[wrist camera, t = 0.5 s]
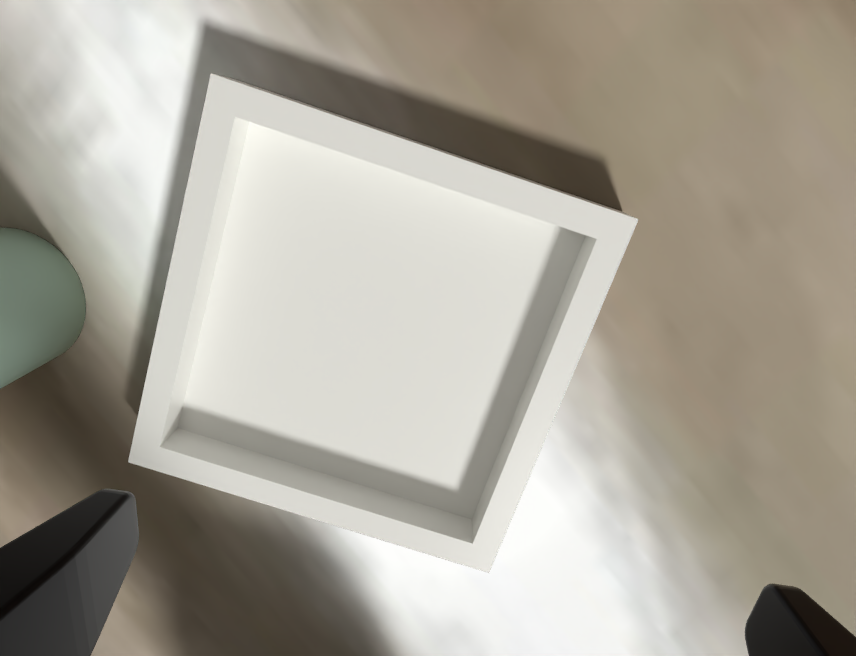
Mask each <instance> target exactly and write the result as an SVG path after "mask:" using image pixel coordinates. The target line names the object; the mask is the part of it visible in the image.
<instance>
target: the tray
mask: <svg viewBox="0 0 856 656" xmlns="http://www.w3.org/2000/svg"><path fill="white" fill-rule="evenodd" d="M637 222H638V219H637V218H635V217H633V216H631V215H629V214H626V213H624V212H622V211H619V210H616V209H613V208H610V207H607V206H604V205H602V204H599V203H596V202H593V201H590V200H587V199H584V198H581V197H578V196H575V195H572V194H569V193H566V192H563V191H561V190H558V189H555V188H552V187H549V186H546V185H543V184H540V183H537V182H534V181H531V180H528V179H525V178H522V177H520V176H517V175H514V174H511V173H508V172H505V171H502V170H499V169H496V168H493V167H490V166H487V165H484V164H481V163H479V162H476V161H473V160H470V159H467V158H464V157H461V156H458V155H455V154H452V153H449V152H446V151H443V150H440V149H438V148H435V147H432V146H429V145H426V144H423V143H420V142H417V141H414V140H411V139H408V138H405V137H402V136H399V135H397V134H394V133H391V132H388V131H385V130H382V129H379V128H376V127H373V126H370V125H367V124H364V123H361V122H358V121H356V120H353V119H350V118H347V117H344V116H341V115H338V114H335V113H332V112H329V111H326V110H323V109H320V108H317V107H315V106H312V105H309V104H306V103H303V102H300V101H297V100H294V99H291V98H288V97H285V96H282V95H279V94H276V93H274V92H271V91H268V90H265V89H262V88H259V87H256V86H253V85H250V84H247V83H244V82H241V81H238V80H235V79H233V78H228V77H224V76H220V75H216V74H212V73H211V75H210V79H209V84H208V89H207V93H206V98H205V103H204V108H203V112H202V117H201V122H200V126H199V131H198V136H197V140H196V145H195V150H194V155H193V159H192V164H191V169H190V173H189V178H188V183H187V187H186V192H185V197H184V201H183V206H182V211H181V216H180V220H179V225H178V230H177V234H176V239H175V244H174V248H173V253H172V258H171V263H170V267H169V272H168V277H167V281H166V286H165V291H164V295H163V300H162V305H161V310H160V314H159V319H158V324H157V328H156V333H155V338H154V342H153V347H152V352H151V357H150V361H149V366H148V371H147V375H146V380H145V385H144V389H143V394H142V399H141V404H140V408H139V413H138V418H137V422H136V427H135V432H134V436H133V441H132V446H131V451H130V455H129V460H128V462H129V463H132V464H136V465H139V466H142V467H145V468H149V469H152V470H155V471H158V472H162V473H165V474H168V475H171V476H175V477H178V478H181V479H184V480H188V481H191V482H194V483H197V484H201V485H204V486H207V487H210V488H214V489H217V490H220V491H223V492H227V493H230V494H233V495H236V496H240V497H243V498H246V499H250V500H253V501H256V502H259V503H263V504H266V505H269V506H272V507H276V508H279V509H282V510H285V511H289V512H292V513H295V514H298V515H302V516H305V517H308V518H311V519H315V520H318V521H321V522H324V523H328V524H331V525H334V526H337V527H341V528H344V529H347V530H351V531H354V532H357V533H360V534H364V535H367V536H370V537H373V538H377V539H380V540H383V541H386V542H390V543H393V544H396V545H399V546H403V547H406V548H409V549H412V550H416V551H419V552H422V553H425V554H429V555H432V556H435V557H438V558H442V559H445V560H448V561H452V562H455V563H458V564H461V565H465V566H468V567H471V568H474V569H478V570H481V571H484V572H487V573H489V572H490V570H491V567H492V565H493V562H494V560H495V558H496V555H497V553H498V551H499V548H500V546H501V543H502V541H503V539H504V536H505V534H506V532H507V529H508V527H509V525H510V522H511V520H512V517H513V515H514V513H515V510H516V508H517V506H518V503H519V501H520V499H521V496H522V494H523V491H524V489H525V487H526V484H527V482H528V480H529V477H530V475H531V472H532V470H533V468H534V465H535V463H536V461H537V458H538V456H539V454H540V451H541V449H542V446H543V444H544V442H545V439H546V437H547V435H548V432H549V430H550V428H551V425H552V423H553V420H554V418H555V416H556V413H557V411H558V409H559V406H560V404H561V401H562V399H563V397H564V394H565V392H566V390H567V387H568V385H569V383H570V380H571V378H572V375H573V373H574V371H575V368H576V366H577V364H578V361H579V359H580V357H581V354H582V352H583V349H584V347H585V345H586V342H587V340H588V338H589V335H590V333H591V330H592V328H593V326H594V323H595V321H596V319H597V316H598V314H599V312H600V309H601V307H602V304H603V302H604V300H605V297H606V295H607V293H608V290H609V288H610V286H611V283H612V281H613V278H614V276H615V274H616V271H617V269H618V267H619V264H620V262H621V260H622V257H623V255H624V252H625V250H626V248H627V245H628V243H629V241H630V238H631V236H632V233H633V231H634V229H635V226H636V224H637Z"/></svg>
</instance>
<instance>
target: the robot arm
mask: <svg viewBox="0 0 856 656" xmlns="http://www.w3.org/2000/svg"><path fill="white" fill-rule="evenodd" d="M138 541H139V529H138V519H137V508H136V500H135V497H134V495H133V494H132V493H131V492H128V491H121V490H114V489H102V490H100V491H98V492H96V493H94V494H92V495H91V496H89V497H87V498H85V499H84V500H82V501H80V502H79V503H77V504H75V505H73V506H72V507H70V508H68V509H66V510H65V511H63V512H61V513H60V514H58V515H56V516H54V517H53V518H51V519H49V520H47V521H46V522H44V523H42V524H41V525H39V526H37V527H35V528H34V529H32V530H30V531H28V532H27V533H25V534H23V535H22V536H20V537H18V538H16V539H15V540H13V541H11V542H9V543H8V544H6V545H4V546H3V547H1V548H0V656H90V655H91V653H92V651H93V649H94V647H95V645H96V642H97V640H98V638H99V636H100V634H101V631H102V629H103V627H104V624H105V622H106V620H107V617H108V615H109V613H110V610H111V608H112V606H113V603H114V601H115V599H116V597H117V594H118V592H119V590H120V587H121V585H122V583H123V580H124V578H125V576H126V573H127V571H128V569H129V566H130V564H131V562H132V560H133V557H134V555H135V552H136V549H137V546H138ZM745 640H746V645H747V649H748V654H749V656H856V637H855V636H854V635H853V634H852V633H851V632H849V631H848V630H847V629H846V628H845V627H844V626H842V625H841V624H840V623H839V622H838V621H837V620H836V619H834V618H833V617H832V616H831V615H830V614H829V613H828V612H826V611H825V610H824V609H823V608H822V607H821V606H820V605H818V604H817V603H816V602H815V601H814V600H813V599H812V598H810V597H809V596H808V595H807V594H806V593H805V592H803V591H802V590H801V589H799V588H796V587H793V586H786V585H779V584H768V585H767V586H765V587H764V588H763V590H762V592H761V594H760V596H759V598H758V600H757V602H756V604H755V606H754V608H753V610H752V612H751V614H750V616H749V618H748V620H747V623H746V627H745Z"/></svg>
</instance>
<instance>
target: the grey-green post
mask: <svg viewBox="0 0 856 656" xmlns="http://www.w3.org/2000/svg"><path fill="white" fill-rule="evenodd" d="M85 314H86V301H85V295H84V291H83V287H82V284H81V282H80V279H79V277H78V275H77V273H76V271H75V270H74V268H73V266H72V265H71V264H70V262H69V261H68V260H67V258H66V257H65V256H64V255H63V254H62V253H61V252H60V251H59V250H58V249H57V248H55V247H54V246H53V245H52V244H50V243H49V242H47V241H46V240H44V239H43V238H41V237H39V236H37V235H35V234H32V233H30V232H27V231H24V230H20V229H14V228H0V389H1V388H3V387H4V386H6V385H8V384H10V383H11V382H13V381H15V380H17V379H19V378H20V377H22V376H24V375H26V374H27V373H29V372H31V371H33V370H35V369H36V368H38V367H40V366H42V365H43V364H45V363H47V362H49V361H51V360H52V359H54V358H56V357H58V356H59V355H61V354H62V353H64V352H65V351H67V350H68V349H69V348H70V347H71V346H72V345H73V344H74V342H75V341H76V340H77V338H78V336H79V335H80V333H81V330H82V328H83V325H84V321H85Z"/></svg>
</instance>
